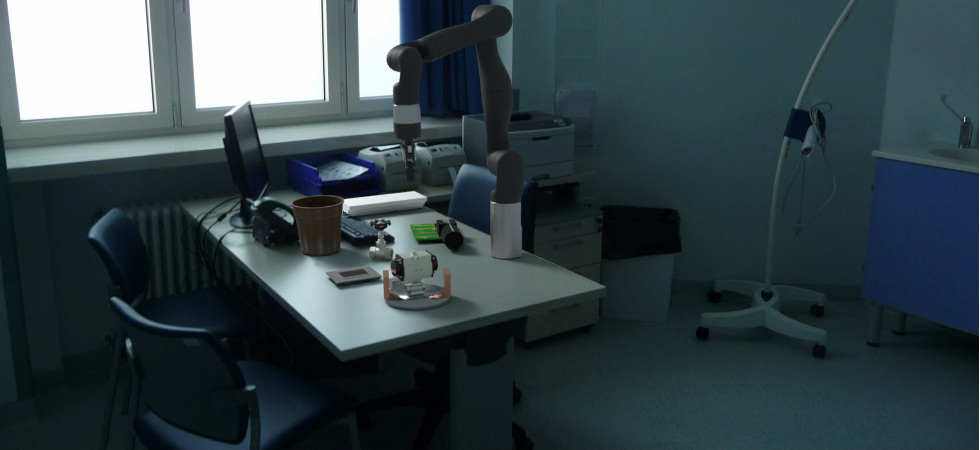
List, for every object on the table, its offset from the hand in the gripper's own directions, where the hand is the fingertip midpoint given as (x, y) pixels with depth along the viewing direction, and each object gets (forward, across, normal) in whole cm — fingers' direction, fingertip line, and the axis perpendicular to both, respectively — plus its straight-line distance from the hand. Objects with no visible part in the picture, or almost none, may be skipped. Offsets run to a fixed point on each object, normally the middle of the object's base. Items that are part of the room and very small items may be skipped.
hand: (409, 178), depth 249 cm
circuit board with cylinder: (+29, +36, -10) cm, 48 cm away
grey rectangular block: (+29, -9, +5) cm, 30 cm away
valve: (+29, +16, +9) cm, 34 cm away
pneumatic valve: (+27, -21, +1) cm, 34 cm away
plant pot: (+28, +29, +27) cm, 49 cm away
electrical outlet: (+29, -1, +17) cm, 34 cm away
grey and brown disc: (+28, -21, +1) cm, 35 cm away
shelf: (+29, +77, +6) cm, 82 cm away
